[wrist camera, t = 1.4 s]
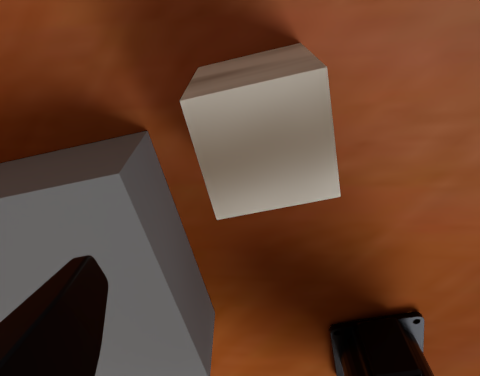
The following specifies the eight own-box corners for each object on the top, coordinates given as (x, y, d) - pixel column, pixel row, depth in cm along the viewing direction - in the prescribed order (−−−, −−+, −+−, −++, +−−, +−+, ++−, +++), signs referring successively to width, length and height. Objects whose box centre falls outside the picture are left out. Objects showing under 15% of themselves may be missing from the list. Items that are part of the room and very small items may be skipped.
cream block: (313, 139, 19) (340, 196, 14) (223, 158, 20) (216, 220, 15) (300, 42, 17) (326, 67, 12) (198, 67, 17) (179, 100, 12)
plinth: (215, 312, 26) (209, 379, 21) (36, 341, 27) (-4, 409, 23) (147, 130, 19) (118, 173, 14) (-85, 182, 20) (-174, 234, 16)
